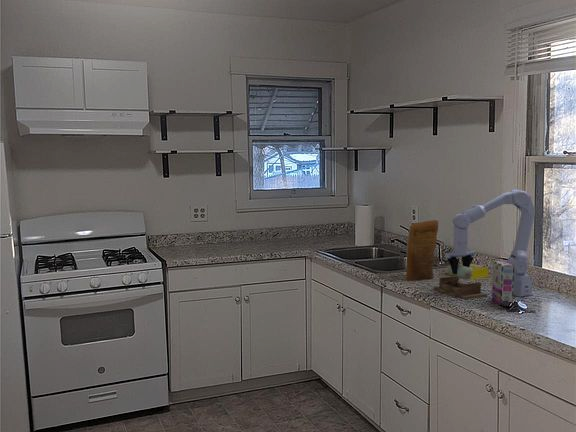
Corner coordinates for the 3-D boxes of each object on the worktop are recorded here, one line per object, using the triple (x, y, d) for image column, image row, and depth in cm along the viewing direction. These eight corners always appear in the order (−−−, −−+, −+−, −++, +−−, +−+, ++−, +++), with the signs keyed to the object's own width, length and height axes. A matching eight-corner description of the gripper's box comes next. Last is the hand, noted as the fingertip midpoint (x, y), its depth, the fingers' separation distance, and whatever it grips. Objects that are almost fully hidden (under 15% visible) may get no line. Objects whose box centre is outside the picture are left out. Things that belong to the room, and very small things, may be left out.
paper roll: (472, 278, 242) (472, 266, 242) (462, 279, 240) (463, 268, 240) (456, 273, 252) (456, 262, 251) (447, 275, 250) (447, 263, 249)
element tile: (490, 276, 280) (490, 266, 279) (469, 280, 272) (469, 270, 271) (466, 271, 292) (466, 262, 292) (445, 274, 285) (445, 265, 284)
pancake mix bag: (441, 278, 275) (443, 220, 272) (409, 282, 267) (410, 223, 264) (432, 275, 281) (433, 219, 278) (400, 279, 273) (401, 221, 270)
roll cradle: (486, 296, 240) (487, 283, 239) (463, 299, 235) (464, 286, 235) (455, 286, 258) (456, 274, 258) (433, 289, 254) (433, 276, 253)
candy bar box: (513, 307, 223) (514, 265, 222) (500, 307, 223) (501, 265, 222) (503, 299, 234) (504, 260, 233) (491, 299, 235) (492, 260, 233)
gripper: (468, 239, 251) (467, 270, 252) (440, 241, 245) (440, 273, 247) (479, 241, 244) (478, 273, 246) (451, 244, 239) (450, 276, 240)
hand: (460, 273), depth 246 cm, fingers closed on paper roll, 5 cm apart
